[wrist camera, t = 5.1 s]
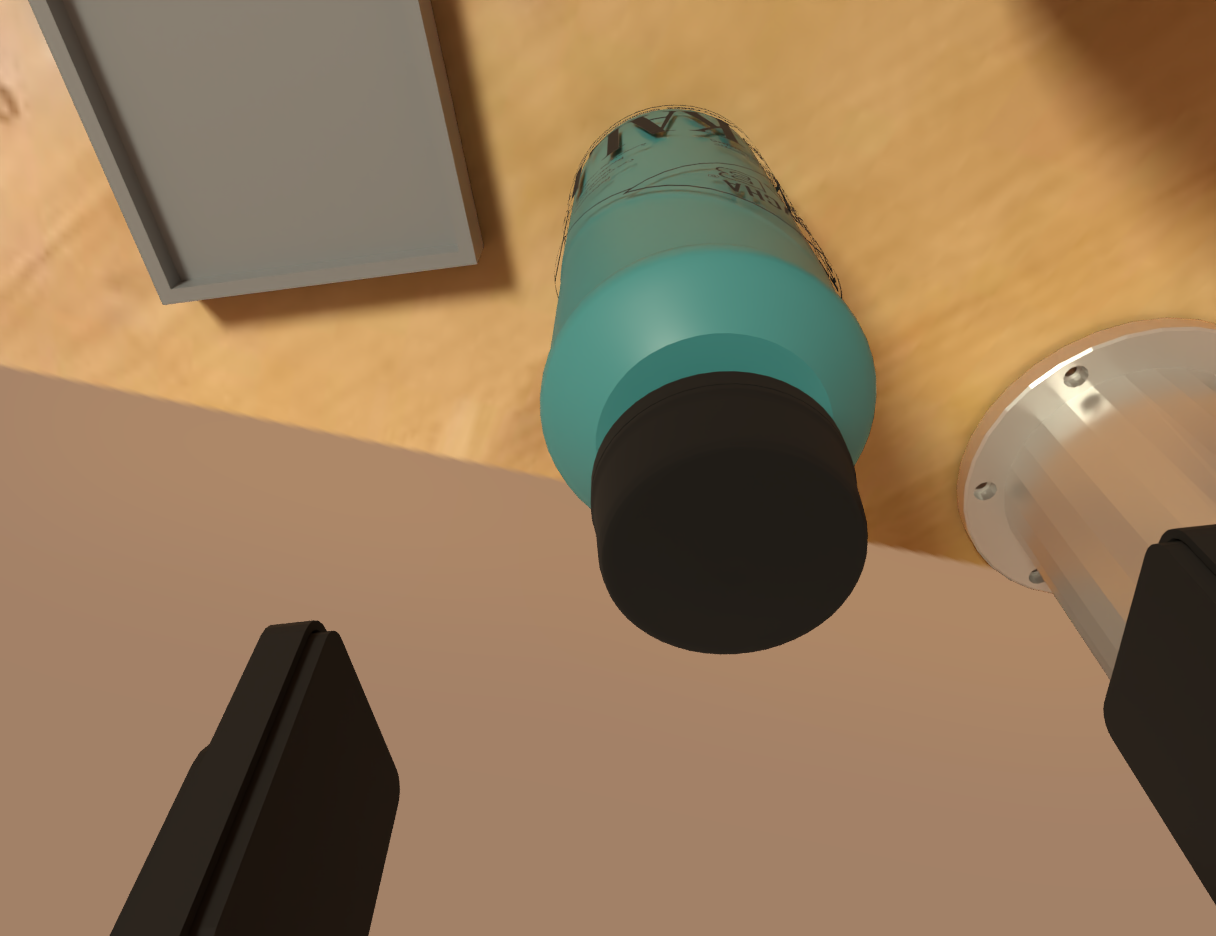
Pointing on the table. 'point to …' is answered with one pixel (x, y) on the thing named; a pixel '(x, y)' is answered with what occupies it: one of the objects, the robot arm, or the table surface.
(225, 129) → the tray
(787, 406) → the beverage bottle
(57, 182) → the table surface
